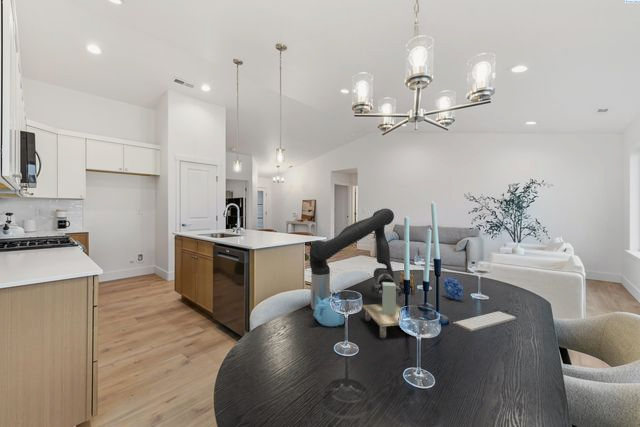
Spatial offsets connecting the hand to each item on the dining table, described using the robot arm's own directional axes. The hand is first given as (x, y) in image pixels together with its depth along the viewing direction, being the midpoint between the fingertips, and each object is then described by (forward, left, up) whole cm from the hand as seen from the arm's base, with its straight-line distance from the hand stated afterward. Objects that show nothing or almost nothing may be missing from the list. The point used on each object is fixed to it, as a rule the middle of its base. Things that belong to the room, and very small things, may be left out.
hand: (388, 293), depth 112 cm
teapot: (-22, +10, -14) cm, 28 cm away
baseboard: (+45, -1, -15) cm, 47 cm away
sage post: (0, 0, -8) cm, 8 cm away
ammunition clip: (+31, +42, -14) cm, 54 cm away
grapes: (+49, +26, -14) cm, 57 cm away
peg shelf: (0, 0, -14) cm, 14 cm away
